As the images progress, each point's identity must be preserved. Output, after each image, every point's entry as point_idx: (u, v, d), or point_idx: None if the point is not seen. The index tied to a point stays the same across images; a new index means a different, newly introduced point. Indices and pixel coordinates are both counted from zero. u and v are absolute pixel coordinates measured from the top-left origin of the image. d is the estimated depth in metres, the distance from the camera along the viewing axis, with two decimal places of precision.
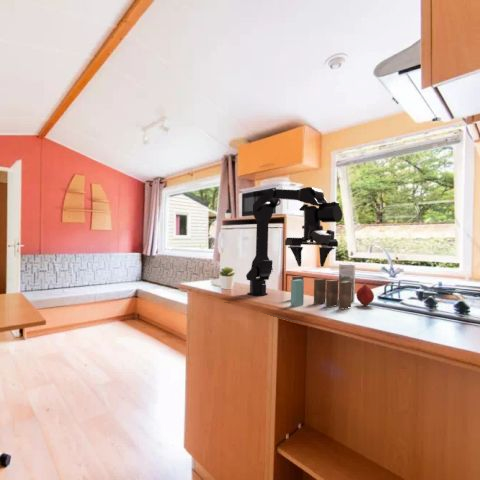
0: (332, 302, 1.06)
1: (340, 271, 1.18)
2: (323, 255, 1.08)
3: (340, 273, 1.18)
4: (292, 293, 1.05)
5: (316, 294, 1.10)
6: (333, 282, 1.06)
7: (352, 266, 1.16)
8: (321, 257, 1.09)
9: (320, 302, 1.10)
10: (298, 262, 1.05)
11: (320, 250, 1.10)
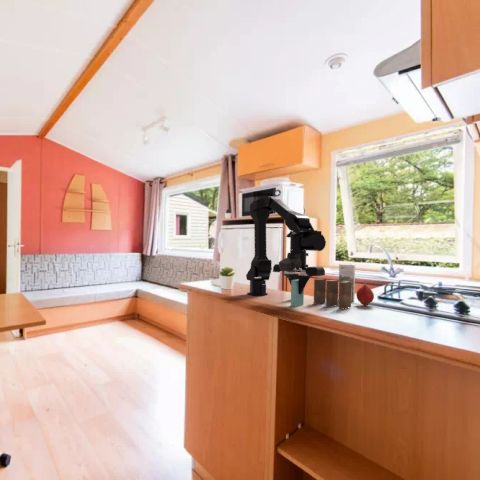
0: (331, 302, 1.06)
1: (340, 271, 1.18)
2: None
3: (340, 273, 1.18)
4: (292, 293, 1.05)
5: (316, 294, 1.10)
6: (333, 282, 1.06)
7: (352, 266, 1.16)
8: None
9: (320, 302, 1.10)
10: None
11: None
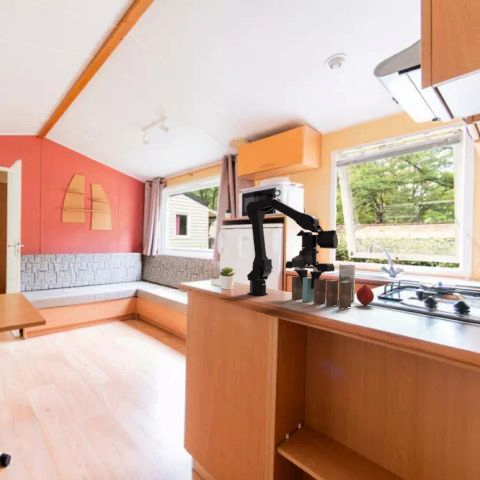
0: (331, 302, 1.06)
1: (340, 271, 1.18)
2: None
3: (340, 273, 1.18)
4: (304, 290, 1.13)
5: (316, 294, 1.10)
6: (333, 282, 1.06)
7: (352, 266, 1.16)
8: None
9: (320, 302, 1.10)
10: None
11: None
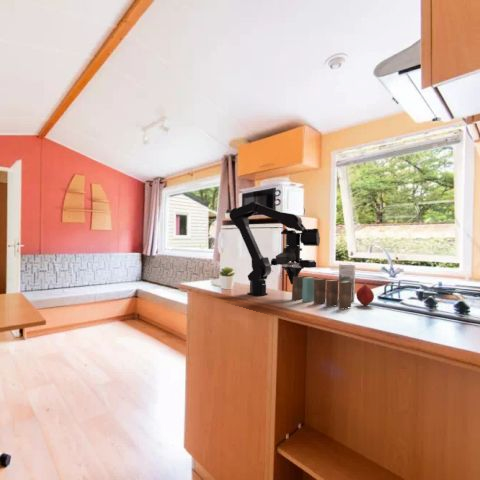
0: (331, 302, 1.06)
1: (340, 271, 1.18)
2: None
3: (340, 273, 1.18)
4: (304, 290, 1.13)
5: (316, 294, 1.10)
6: (333, 282, 1.06)
7: (352, 266, 1.16)
8: None
9: (320, 302, 1.10)
10: None
11: None
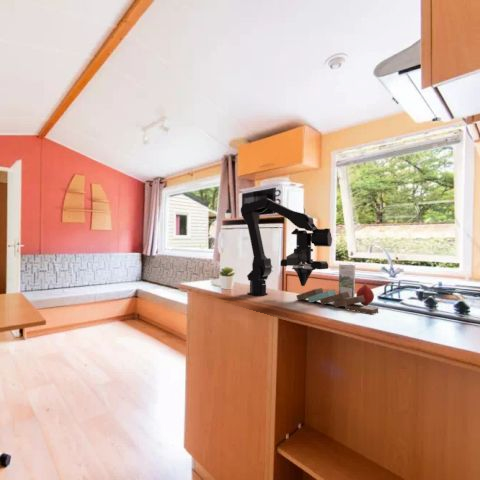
0: None
1: (340, 271, 1.18)
2: None
3: (340, 273, 1.18)
4: (317, 296, 1.09)
5: (328, 300, 1.06)
6: (359, 302, 0.99)
7: (352, 266, 1.16)
8: None
9: None
10: None
11: None
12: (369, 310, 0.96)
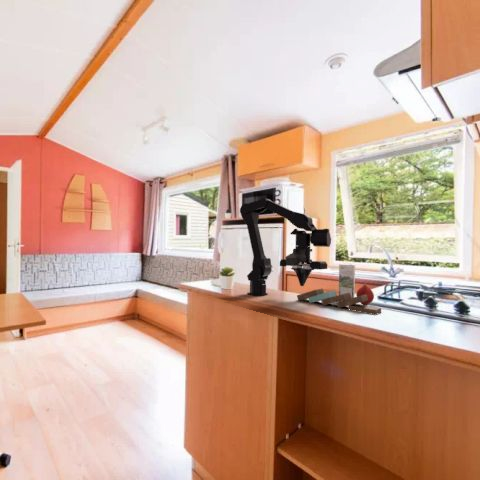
0: (343, 306, 1.03)
1: (340, 271, 1.18)
2: None
3: (340, 273, 1.18)
4: (318, 297, 1.09)
5: (330, 300, 1.05)
6: None
7: (352, 266, 1.16)
8: None
9: (326, 304, 1.08)
10: None
11: None
12: (372, 310, 0.95)
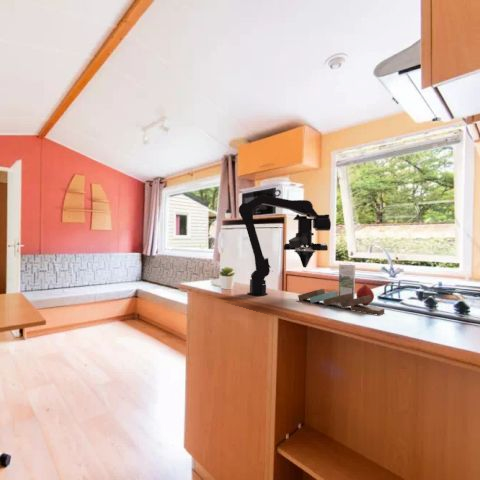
0: None
1: (340, 271, 1.18)
2: None
3: (340, 273, 1.18)
4: (319, 297, 1.09)
5: (331, 301, 1.05)
6: (366, 302, 0.97)
7: (352, 266, 1.16)
8: None
9: (327, 304, 1.07)
10: None
11: None
12: (375, 311, 0.94)
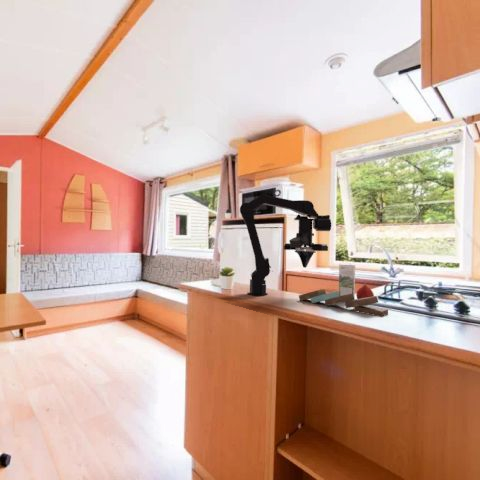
0: None
1: (340, 271, 1.18)
2: None
3: (340, 273, 1.18)
4: (320, 297, 1.08)
5: (332, 301, 1.04)
6: None
7: (352, 266, 1.16)
8: None
9: None
10: None
11: None
12: (379, 312, 0.93)
